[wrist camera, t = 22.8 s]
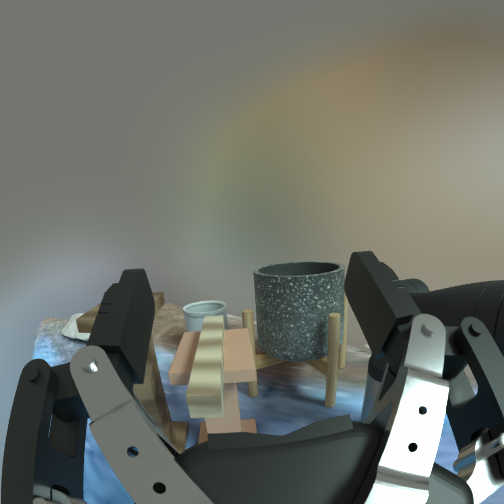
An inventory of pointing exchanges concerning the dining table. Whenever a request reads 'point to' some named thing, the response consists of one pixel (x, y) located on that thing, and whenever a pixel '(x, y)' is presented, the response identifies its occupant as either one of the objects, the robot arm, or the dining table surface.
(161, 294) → the walnut base stand
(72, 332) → the crumpled cloth
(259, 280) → the planter
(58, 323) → the dining table surface
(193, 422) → the dining table surface
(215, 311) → the utensil holder
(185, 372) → the terracotta base stand
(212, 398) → the beech bar
